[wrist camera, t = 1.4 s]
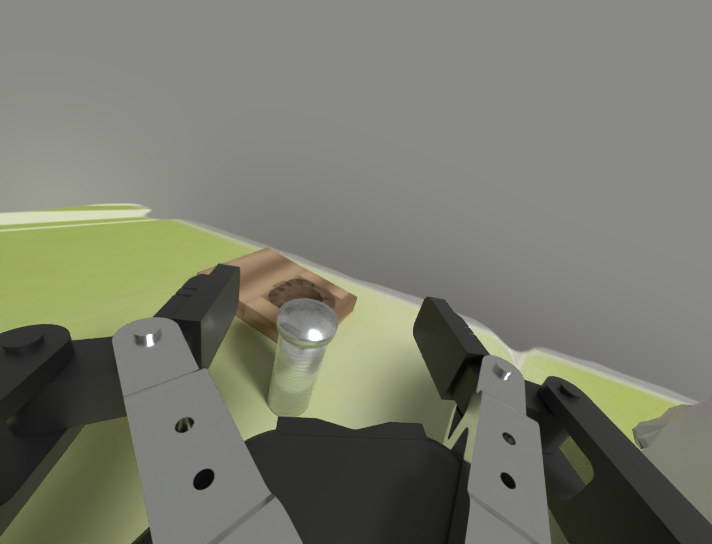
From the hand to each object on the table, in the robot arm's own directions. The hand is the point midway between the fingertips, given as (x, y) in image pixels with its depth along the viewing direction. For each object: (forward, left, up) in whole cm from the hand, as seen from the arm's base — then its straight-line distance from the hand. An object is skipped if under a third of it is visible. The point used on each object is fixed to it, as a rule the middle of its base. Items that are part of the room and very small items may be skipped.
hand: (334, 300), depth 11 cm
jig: (-17, +20, -21) cm, 33 cm away
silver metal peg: (-5, +8, -21) cm, 23 cm away
